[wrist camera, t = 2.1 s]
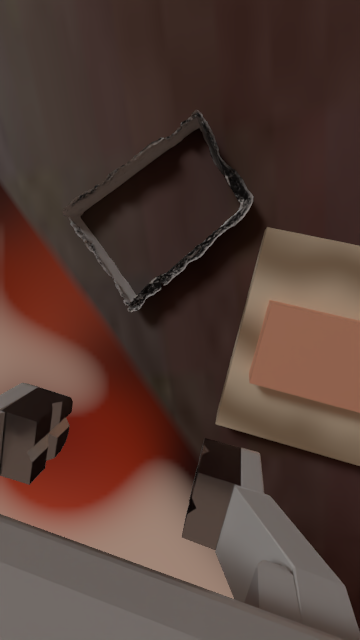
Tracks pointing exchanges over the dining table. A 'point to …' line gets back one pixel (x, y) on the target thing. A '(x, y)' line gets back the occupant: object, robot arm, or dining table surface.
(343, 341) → the pink flat block
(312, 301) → the beige square slab
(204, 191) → the dining table surface
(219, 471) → the robot arm
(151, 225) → the dining table surface
